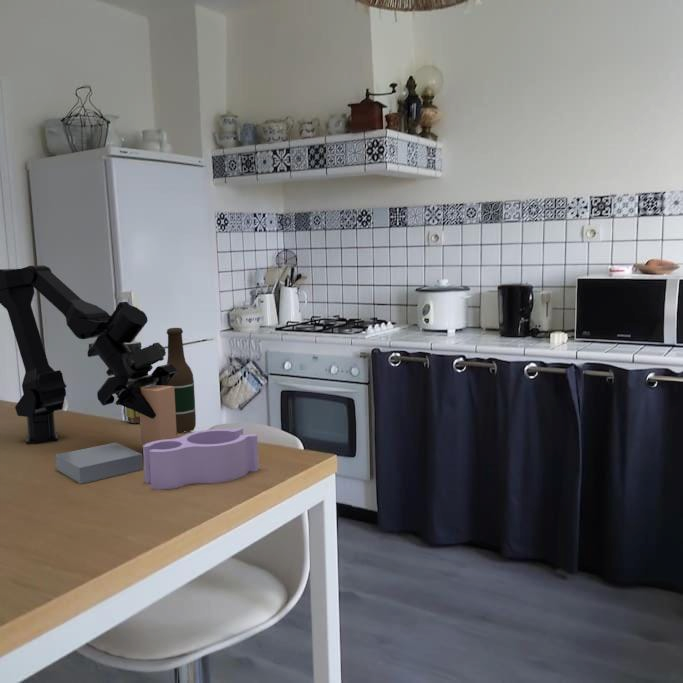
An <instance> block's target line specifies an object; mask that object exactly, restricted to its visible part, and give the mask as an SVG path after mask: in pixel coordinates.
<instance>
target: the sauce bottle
mask: <svg viewBox="0 0 683 683" xmlns="http://www.w3.org/2000/svg"><path fill="white" fill-rule="evenodd" d="M125 344H126V346H127V347H128V348H129V349H130V350H131V352H133V351H139V350H141V349H142V348H143V347H142V342H141V341H132V342H131V343H125ZM141 388H145V386H143V387H141ZM125 412H126V417H127V421H128V423H129V422H130V424H136V423H137V424H140V413H139V412H137V411H134V410H132V409H129V408H127V407H125Z"/></svg>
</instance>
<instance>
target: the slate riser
mask: <svg viewBox="0 0 683 683" xmlns="http://www.w3.org/2000/svg"><path fill="white" fill-rule="evenodd" d="M55 464H56V466H55V467H56V471H58V472H60V473H62V474H63V475H65V476H67V477H68V478H69V479H71V480H73V481H75V482H77V483H78V484H80V485H82V484H86V483H90V482H94V481H99V480H103V479H108V478H112V477H116V476H121V475H124V474H130V473H133V472H137V471H141V470H142V471H143V469H144V468H143V467H144V463H143V454H142V453H140V452H137V450H133V449H131V448H129V447H127V446H125V445H122V444H120V443H118V442H111V443H106V444H102V445H96V446H92V447H88V448H82V449H77V450H73V451H66V452H63V453H58V454H57V453H56V454H55Z"/></svg>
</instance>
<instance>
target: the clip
mask: <svg viewBox="0 0 683 683" xmlns="http://www.w3.org/2000/svg"><path fill="white" fill-rule="evenodd" d="M258 443H259V442H258V434H255V433H253V434H251V433H249V434H244V427H235V428H233V429H231V428H214V429H213V428H211V429H203V430H202V429H201V430H198V431H192V432H190V433H189V432H188V433H187V434H184V435H182V436H180V437H177V438H175V439H166V440H158V441H153V442H150V443H147V444H145V445H143V447H142V453H143V454H142V457H143V467H144V468H143V469H144V470H143V472H144V483H145V484H150V488H151V489H152V490H171V489H177V488H181V487H184V486H186V485H193V484H218V483H225V482H231V481H234V480H238V479H240V478H243V477H244V476H246V475H247V474H248V473H249V471H250V472H258V471H259V470H260V469H259V450H258V449H259V445H258ZM242 476H243V477H242Z"/></svg>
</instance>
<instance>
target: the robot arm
mask: <svg viewBox="0 0 683 683" xmlns="http://www.w3.org/2000/svg"><path fill="white" fill-rule="evenodd" d="M35 290H36V291H37V292H39V293H40V294H41V295H42V296H43V297H44V298H45V299H46V300H47V301H48V302H49V303H51V305H52V306H54V308H56V309H57V310H58V311H59V312H60V313H61V314H62V315H63V317H65V320H66V326H68V328H69V329H70V331H71V332H72V334H73V335H74V336H75V337H76V338H77V339H79V340H88V339H92V338H93V339H94V338H96V339H95V340H94V341H93V342H91V343H89V344H88V350H87V357H88V358H91V357H92V358H93V357H96V356H98V357H99V359H100V360H101V361H102V362H103V363H104V365H105V366H106V367H107V368H108V369H107V370H106V372H105V373H106V375H107V376H108V377H107V379H106V380H105V381H104V382H103V384H102V385H101V387H100V388H99V389H98V391H96V392H97V394H96V396H97V397H96V398H97V400H98V402H99V403H100V404H101V405H102V406H107V405H111V404H113V403H114V402H115V405H116V406H121V407H125V408H126V407H127V408H129V409H132V410H134V411H137V412H139V413H141V414H143V415H145V416H147V417H149V418H152V419H153V418H155V416H156V414H155V412H154V411H153V409H152V407H151V406H150V405H149V403H148V402H147V400H146V399H145V397H144V396H143V395H142V393H141V387H143V386H145V387H149V386H152V385H163V386H167V384H168V383H169V382H170V381H171V380H172V378H173V377H174V376H175V375H176V373H177V370H176V369H175V367H174V366H173V365H172V364H167V363H166V364H162V365H158V366H156V367H155V368H154V366H153V365H154V364H156V363H158V362H159V361H160V362H161V361H163V360H165V356H166V354H167V353H166V348H165V347H164V346H163V345H162V344H161V343H160V342H154V343H152V344H151V345H148V346H145V347H142V348H141V350H139V351H133V352H131V350H130V349H129V348H128V347H127V346H126V344H125V343H131V342H134V340H136V338H137V336H138V335H139V333H141V331H142V329H143V328H144V327H145V325H146V324H147V323H148V321H149V320H148V316H147V314H146V312H144V311H143V310H141V309H140V308H138V307H137V306H134V305H131V304H129V302H128V301H120V302H118V304H117V305H116V308H114V309H115V310H114V311H113V312H112V314H111V315H110V314H109V313H108V312H107V310H104V309H102V308H101V307H99V306H98V305H96V304H93V303H91V302H87V301H85V300H84V299H82V298H81V297H80V296H79V295H77V294H76V293H75V292H74V291H73V290H72V289H71V288H70V287H69V286H67V285H66V284H65V282H63V280H60V279H59V277H57V276H56V275H55V274H54V273H53V272H52V270H51V268H50V267H49V266H46V265H45V264H44V265H40V264H39V265H28V266H25V267H22V268H3V269H2V268H1V269H0V305H1V306H2V307H3V308H4V309H5V310H6V311H7V314H8V316H9V321H10V324H11V326H12V330H13V334H14V337H15V340H16V342H17V346H18V351H19V354H20V357H21V360H22V365H23V368H24V372H25V373H24V376H23V380H22V383H21V388H22V393H23V395H22V396H21V398H20V399H19V401H18V402H17V403H16V404H15V407H14V409H15V411H16V415H17V416H18V417H23V418H24V417H25V418H26V421H27V422H26V424H27V434H28V435H26V439H25V443H26V444H29V445H30V444H35V443H36V444H38V443H44V442H55V441H58V439H59V432H58V431H57V432H56V421H55V420H56V419H55V412H56V411H61V410H63V408H64V402H65V399H66V398H65V397H66V396H67V390H66V388H67V384H66V383H65V380H64V377H63V373H62V371H61V370H59V369H58V370H54V369H53V367H52V366H50V364H49V361H48V360H49V359H48V357H47V354H46V351H45V347H44V345H43V344H44V343H43V341H42V338H41V335H40V331H39V327H38V324H37V321H36V317H35V314H34V311H33V308H32V301H33V299H34V296H35ZM153 368H154V370H153ZM152 370H153V371H152ZM151 371H152V372H151ZM149 372H151V374H149ZM114 395H116V397H117V398H118V399H117V400H116V401H115V397H114Z"/></svg>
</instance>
